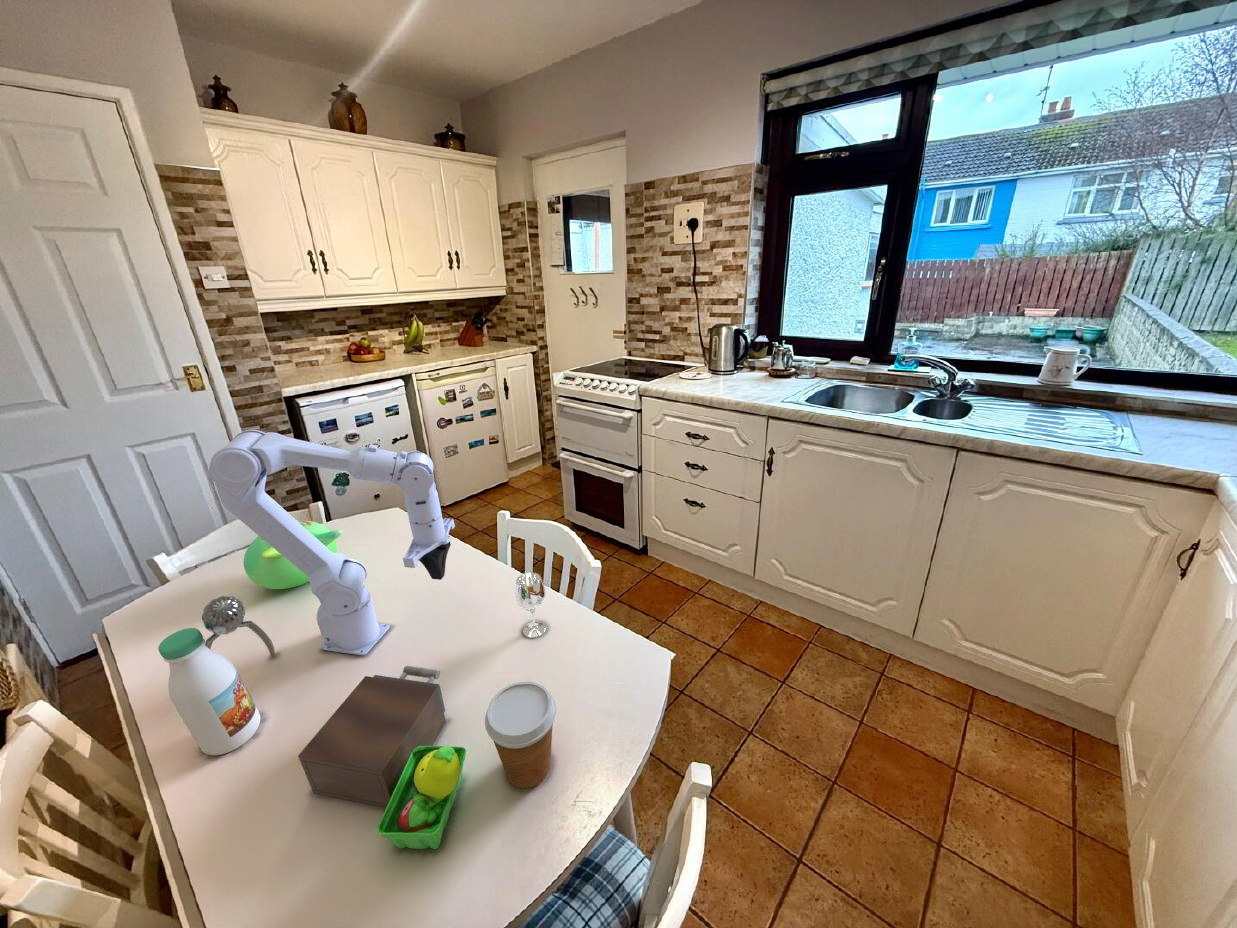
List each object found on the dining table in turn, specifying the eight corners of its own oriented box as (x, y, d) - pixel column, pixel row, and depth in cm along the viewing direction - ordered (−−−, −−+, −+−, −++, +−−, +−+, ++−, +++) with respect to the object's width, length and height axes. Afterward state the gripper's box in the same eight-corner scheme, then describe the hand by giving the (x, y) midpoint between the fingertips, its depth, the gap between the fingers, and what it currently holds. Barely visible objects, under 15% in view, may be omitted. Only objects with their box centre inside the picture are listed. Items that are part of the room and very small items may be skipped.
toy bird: (324, 550, 125) (308, 500, 119) (358, 572, 115) (343, 518, 110) (243, 587, 111) (221, 531, 106) (274, 614, 102) (252, 556, 96)
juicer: (275, 655, 91) (278, 608, 70) (201, 691, 84) (180, 651, 63) (254, 610, 93) (251, 552, 72) (179, 642, 85) (152, 587, 65)
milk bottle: (215, 766, 71) (154, 669, 63) (193, 741, 75) (132, 646, 66) (271, 725, 77) (222, 630, 68) (248, 703, 81) (199, 611, 72)
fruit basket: (420, 769, 70) (405, 713, 66) (481, 770, 70) (469, 713, 65) (383, 859, 59) (361, 800, 55) (454, 860, 59) (438, 801, 55)
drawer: (398, 680, 84) (391, 655, 82) (458, 689, 82) (452, 663, 79) (327, 773, 69) (316, 745, 67) (399, 787, 67) (390, 758, 64)
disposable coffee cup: (502, 812, 64) (490, 750, 59) (489, 751, 72) (478, 692, 68) (570, 783, 68) (564, 721, 63) (551, 727, 76) (544, 669, 71)
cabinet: (376, 710, 79) (365, 675, 76) (446, 721, 77) (438, 686, 74) (313, 793, 67) (297, 755, 64) (394, 809, 65) (382, 771, 62)
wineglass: (543, 641, 93) (537, 590, 88) (515, 638, 94) (507, 587, 89) (552, 621, 98) (547, 572, 93) (526, 618, 99) (519, 569, 94)
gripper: (423, 538, 83) (437, 603, 88) (464, 500, 96) (473, 558, 101) (386, 535, 84) (402, 599, 89) (431, 498, 97) (443, 555, 102)
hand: (438, 577), depth 95 cm, fingers closed
